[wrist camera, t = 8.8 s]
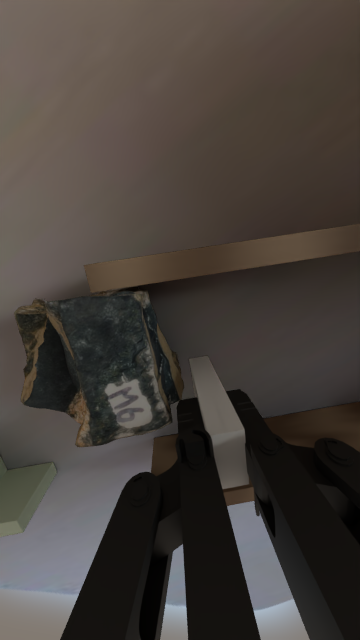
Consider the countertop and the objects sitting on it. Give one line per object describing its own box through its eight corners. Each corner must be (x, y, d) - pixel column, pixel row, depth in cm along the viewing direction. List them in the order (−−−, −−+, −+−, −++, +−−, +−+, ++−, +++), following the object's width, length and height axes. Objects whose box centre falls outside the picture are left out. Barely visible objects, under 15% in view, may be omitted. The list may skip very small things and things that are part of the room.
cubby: (156, 448, 17) (151, 520, 12) (115, 269, 13) (83, 265, 8) (412, 403, 17) (507, 452, 12) (447, 218, 13) (605, 186, 9)
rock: (29, 298, 12) (-77, 311, 7) (168, 282, 13) (177, 281, 8) (62, 411, 14) (0, 494, 8) (182, 389, 15) (197, 452, 9)
